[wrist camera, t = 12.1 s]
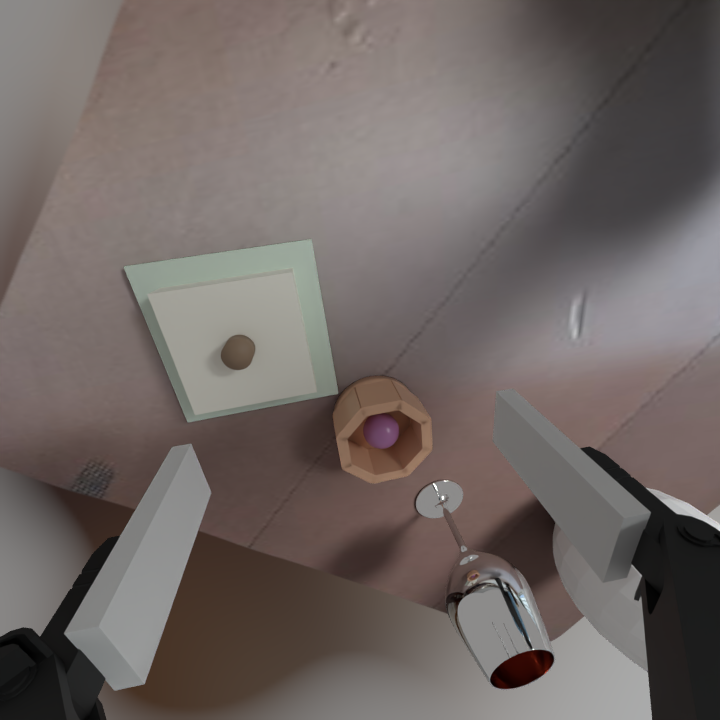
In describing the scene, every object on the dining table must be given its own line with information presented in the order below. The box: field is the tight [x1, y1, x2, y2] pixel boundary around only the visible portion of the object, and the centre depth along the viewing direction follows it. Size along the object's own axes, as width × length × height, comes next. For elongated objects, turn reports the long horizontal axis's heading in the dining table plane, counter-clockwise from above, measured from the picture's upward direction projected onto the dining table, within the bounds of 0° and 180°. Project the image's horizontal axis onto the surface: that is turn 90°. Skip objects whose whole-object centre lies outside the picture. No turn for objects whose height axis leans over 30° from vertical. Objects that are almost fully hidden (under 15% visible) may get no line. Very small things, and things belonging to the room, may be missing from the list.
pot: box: [332, 376, 433, 484], centre depth 34 cm, size 9×9×6 cm
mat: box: [124, 239, 339, 422], centre depth 31 cm, size 15×15×1 cm
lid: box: [147, 268, 317, 415], centre depth 28 cm, size 11×11×4 cm
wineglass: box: [416, 480, 555, 690], centre depth 35 cm, size 8×8×18 cm
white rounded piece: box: [553, 488, 720, 672], centre depth 37 cm, size 19×18×25 cm
